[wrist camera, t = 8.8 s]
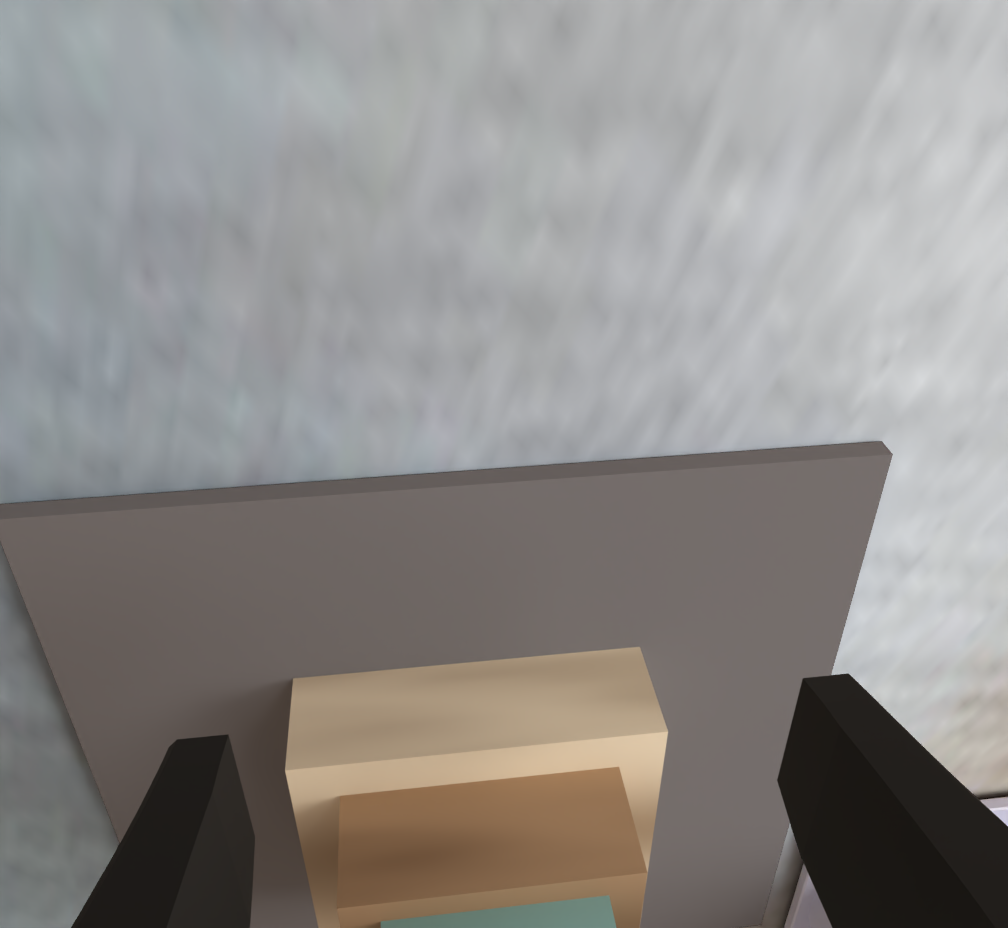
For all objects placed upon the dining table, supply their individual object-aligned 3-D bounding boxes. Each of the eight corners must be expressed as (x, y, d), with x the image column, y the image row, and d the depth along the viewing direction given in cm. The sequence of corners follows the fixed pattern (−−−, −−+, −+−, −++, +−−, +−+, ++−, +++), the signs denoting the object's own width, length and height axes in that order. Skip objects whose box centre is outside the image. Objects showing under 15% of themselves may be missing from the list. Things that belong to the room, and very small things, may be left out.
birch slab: (617, 849, 26) (638, 935, 24) (331, 881, 25) (328, 973, 23) (639, 646, 22) (668, 731, 20) (293, 678, 21) (284, 770, 19)
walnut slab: (603, 918, 24) (625, 1022, 21) (365, 947, 23) (364, 1056, 21) (618, 766, 20) (647, 872, 18) (339, 796, 20) (336, 908, 18)
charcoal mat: (755, 909, 30) (761, 924, 30) (183, 979, 28) (180, 996, 28) (881, 441, 20) (892, 453, 19) (0, 504, 18) (-9, 519, 18)
